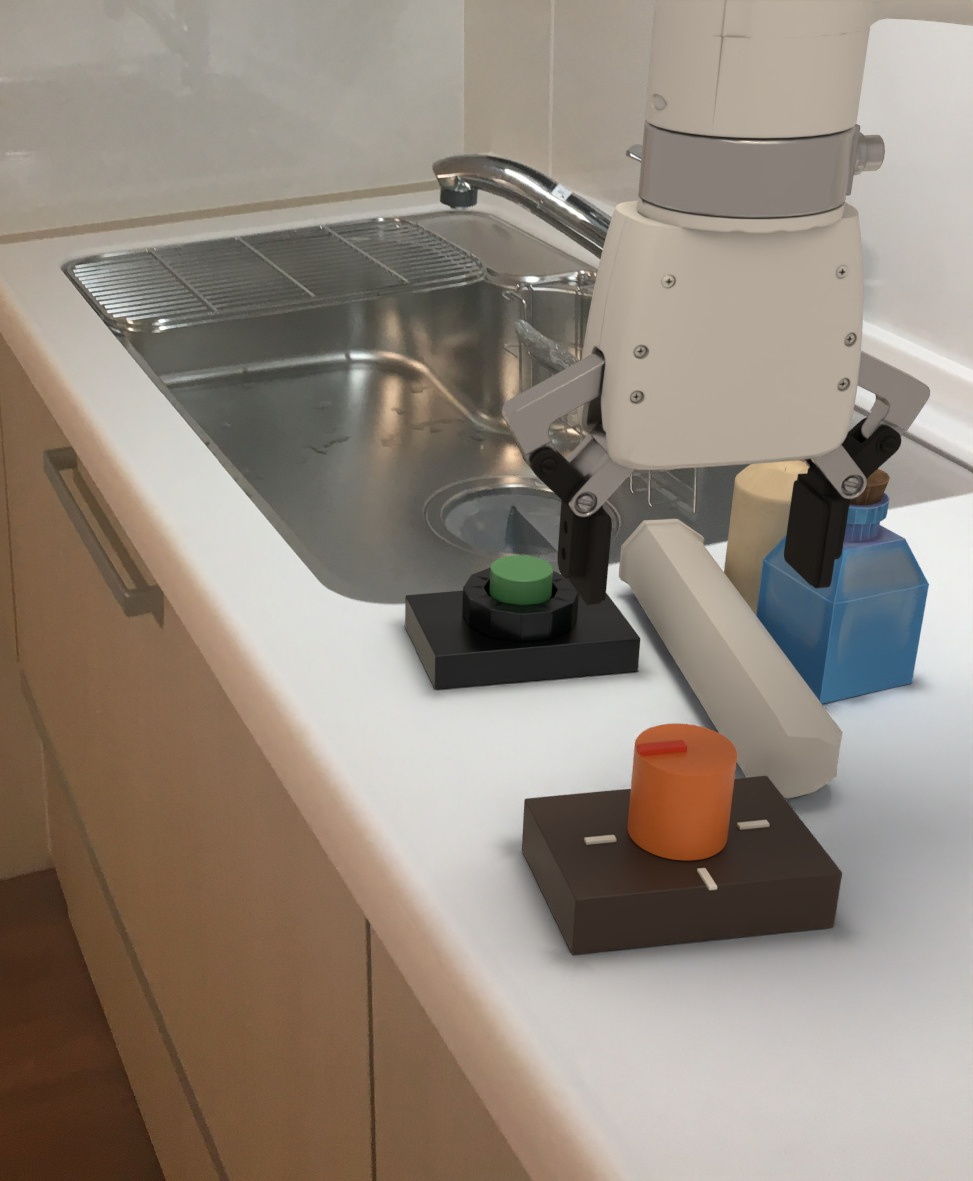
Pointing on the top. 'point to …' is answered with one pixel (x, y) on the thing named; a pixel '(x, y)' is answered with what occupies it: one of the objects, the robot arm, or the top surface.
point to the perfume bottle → (850, 607)
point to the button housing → (517, 636)
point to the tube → (730, 659)
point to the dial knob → (681, 791)
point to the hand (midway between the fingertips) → (696, 582)
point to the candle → (758, 521)
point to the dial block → (677, 873)
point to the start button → (521, 580)
